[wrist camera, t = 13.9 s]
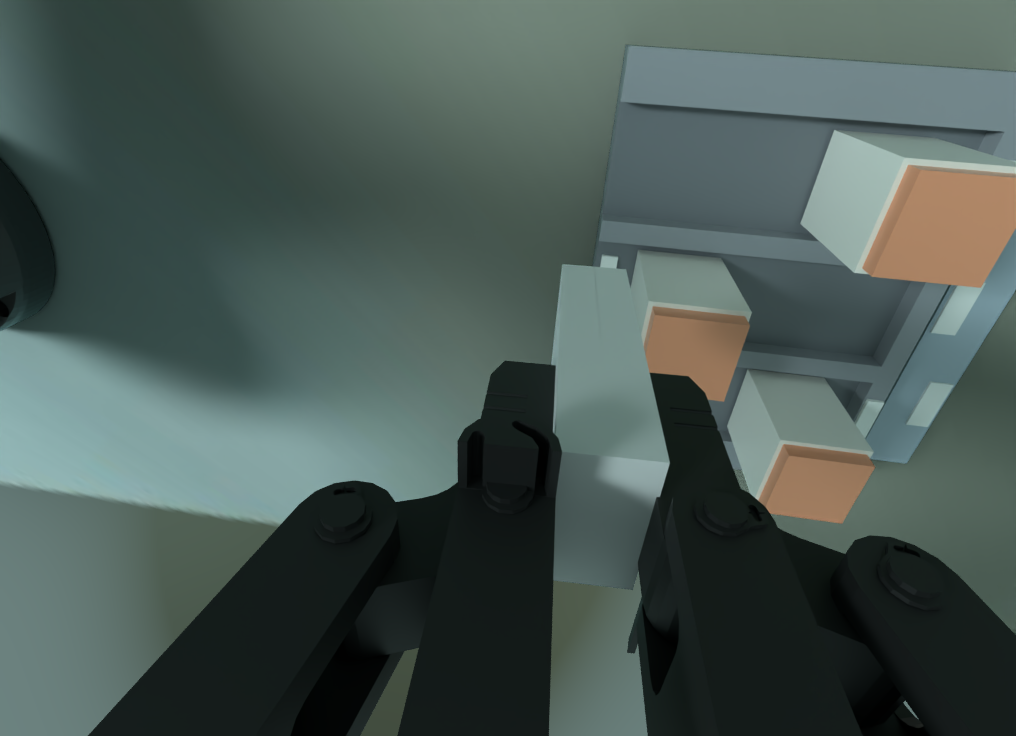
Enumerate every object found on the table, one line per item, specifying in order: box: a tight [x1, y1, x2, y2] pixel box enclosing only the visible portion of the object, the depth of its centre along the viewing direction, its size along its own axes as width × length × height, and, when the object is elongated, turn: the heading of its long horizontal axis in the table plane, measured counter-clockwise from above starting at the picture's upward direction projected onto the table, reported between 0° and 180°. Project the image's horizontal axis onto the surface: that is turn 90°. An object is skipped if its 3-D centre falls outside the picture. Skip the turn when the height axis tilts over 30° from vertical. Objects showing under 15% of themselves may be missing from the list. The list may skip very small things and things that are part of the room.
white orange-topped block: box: [800, 130, 1016, 288], centre depth 20 cm, size 4×4×7 cm
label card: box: [865, 229, 1016, 464], centre depth 27 cm, size 3×21×1 cm, turn 177°
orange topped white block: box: [727, 369, 875, 524], centre depth 27 cm, size 4×4×7 cm
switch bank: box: [592, 45, 1016, 470], centre depth 27 cm, size 16×21×3 cm
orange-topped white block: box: [631, 250, 752, 402], centre depth 24 cm, size 4×4×7 cm
